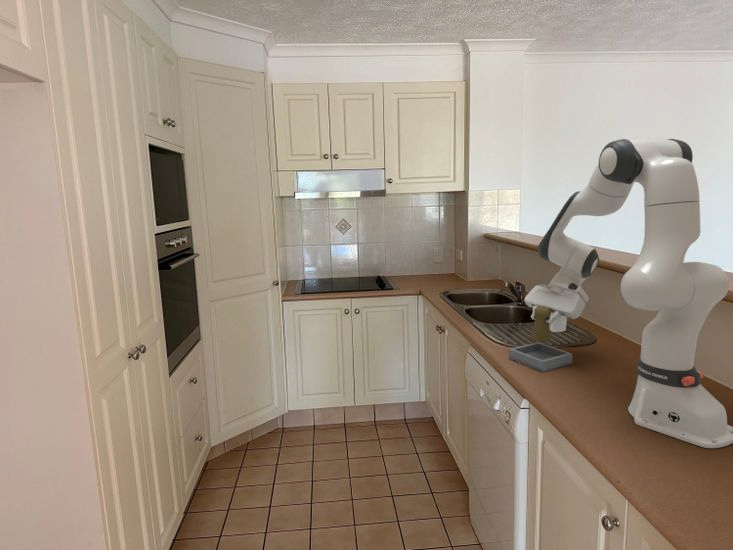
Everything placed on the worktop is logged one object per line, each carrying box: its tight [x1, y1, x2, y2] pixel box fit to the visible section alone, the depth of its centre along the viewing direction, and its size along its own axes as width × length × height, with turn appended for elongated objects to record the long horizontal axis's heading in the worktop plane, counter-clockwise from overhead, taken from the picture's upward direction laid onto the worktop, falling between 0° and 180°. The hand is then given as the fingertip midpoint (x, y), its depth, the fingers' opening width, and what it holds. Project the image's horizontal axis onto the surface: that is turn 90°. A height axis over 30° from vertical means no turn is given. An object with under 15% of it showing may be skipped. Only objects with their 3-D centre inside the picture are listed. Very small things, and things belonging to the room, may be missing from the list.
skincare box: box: [549, 313, 568, 333], centre depth 190 cm, size 8×6×15 cm
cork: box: [531, 306, 552, 343], centre depth 154 cm, size 6×6×11 cm
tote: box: [508, 341, 574, 373], centre depth 156 cm, size 14×14×4 cm
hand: (540, 321), depth 153 cm, fingers closed on cork, 5 cm apart
